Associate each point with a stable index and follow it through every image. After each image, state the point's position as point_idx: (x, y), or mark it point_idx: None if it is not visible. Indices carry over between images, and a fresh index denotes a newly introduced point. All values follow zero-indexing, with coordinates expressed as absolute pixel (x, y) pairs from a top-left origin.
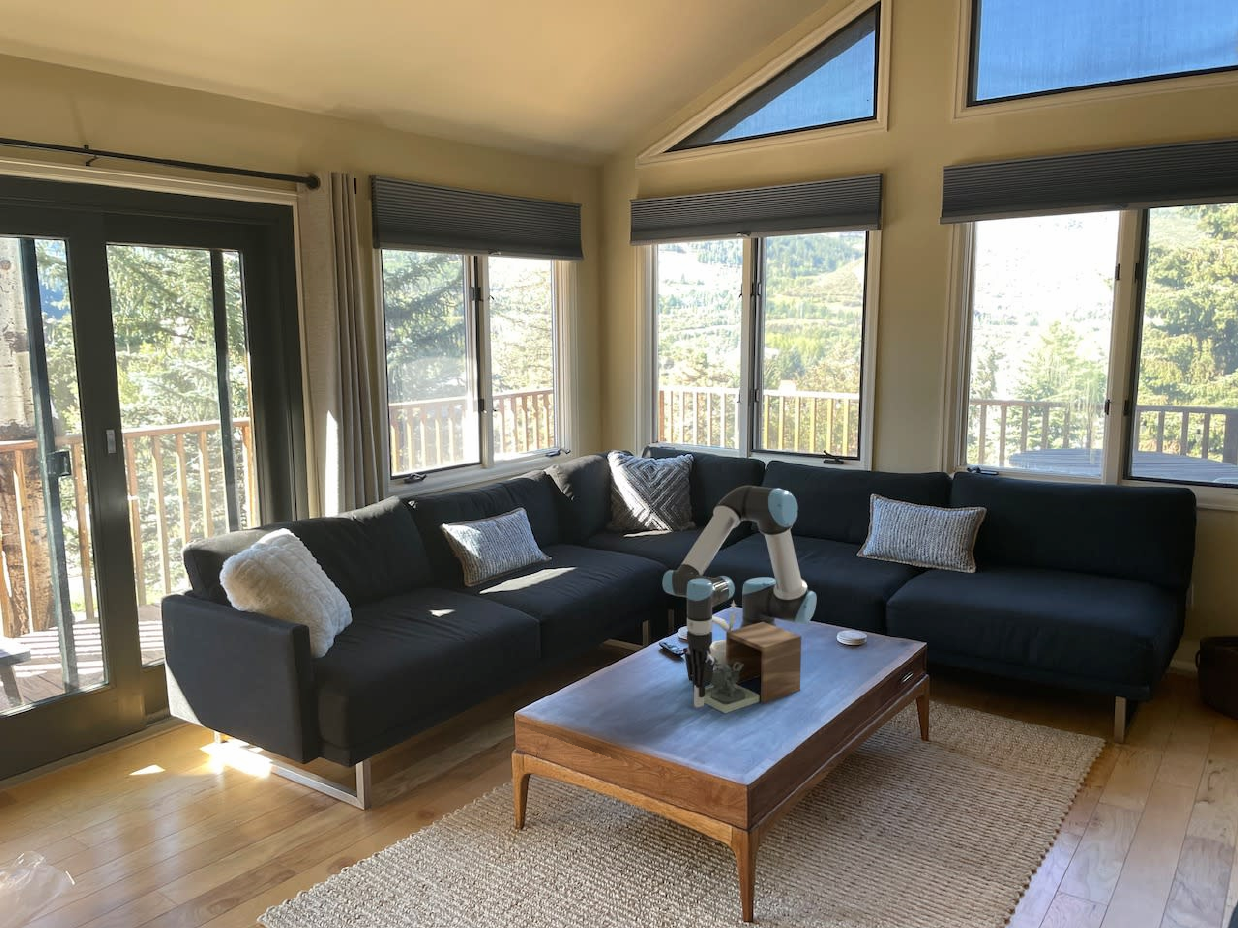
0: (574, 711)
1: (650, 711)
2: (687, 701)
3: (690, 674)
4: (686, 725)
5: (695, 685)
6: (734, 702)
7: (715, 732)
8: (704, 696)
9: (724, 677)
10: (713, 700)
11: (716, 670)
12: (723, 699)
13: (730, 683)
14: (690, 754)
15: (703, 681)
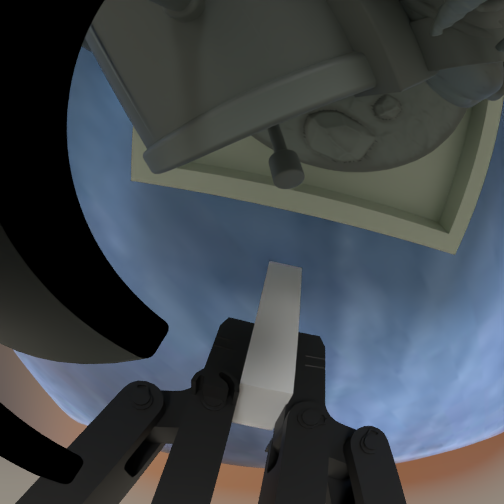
0: (85, 407)
1: (156, 373)
2: (161, 231)
3: (145, 468)
4: (330, 397)
5: (237, 418)
6: (479, 158)
7: (443, 378)
8: (236, 198)
9: (452, 88)
10: (341, 218)
11: (157, 14)
12: (390, 148)
13: (494, 95)
14: (407, 448)
15: (340, 499)
